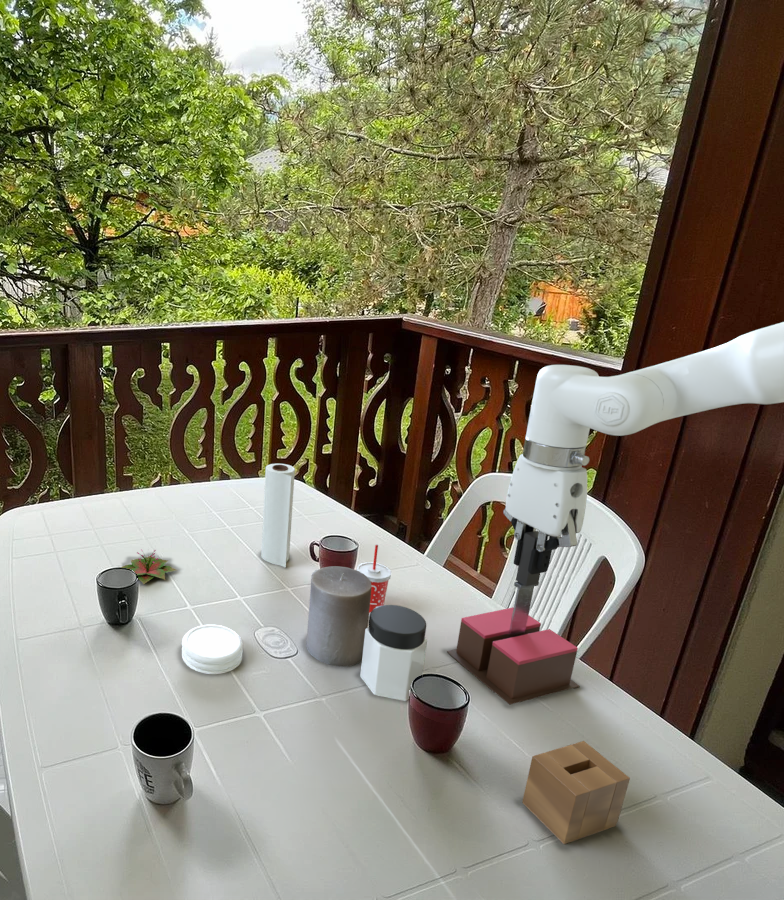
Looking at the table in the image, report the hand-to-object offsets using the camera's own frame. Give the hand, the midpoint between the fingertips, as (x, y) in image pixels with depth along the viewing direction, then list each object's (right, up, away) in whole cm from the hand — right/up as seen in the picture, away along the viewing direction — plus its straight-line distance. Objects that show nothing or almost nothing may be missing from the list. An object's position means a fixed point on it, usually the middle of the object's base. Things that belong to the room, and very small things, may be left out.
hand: (530, 567), depth 96 cm
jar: (-20, -19, +3) cm, 28 cm away
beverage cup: (-18, -13, +22) cm, 31 cm away
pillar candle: (-27, -16, +11) cm, 34 cm away
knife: (0, -12, +4) cm, 13 cm away
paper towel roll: (-33, -6, +41) cm, 53 cm away
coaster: (-48, -17, +9) cm, 52 cm away
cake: (0, -18, +6) cm, 19 cm away
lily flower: (-60, -8, +36) cm, 71 cm away
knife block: (-7, -27, -20) cm, 34 cm away
